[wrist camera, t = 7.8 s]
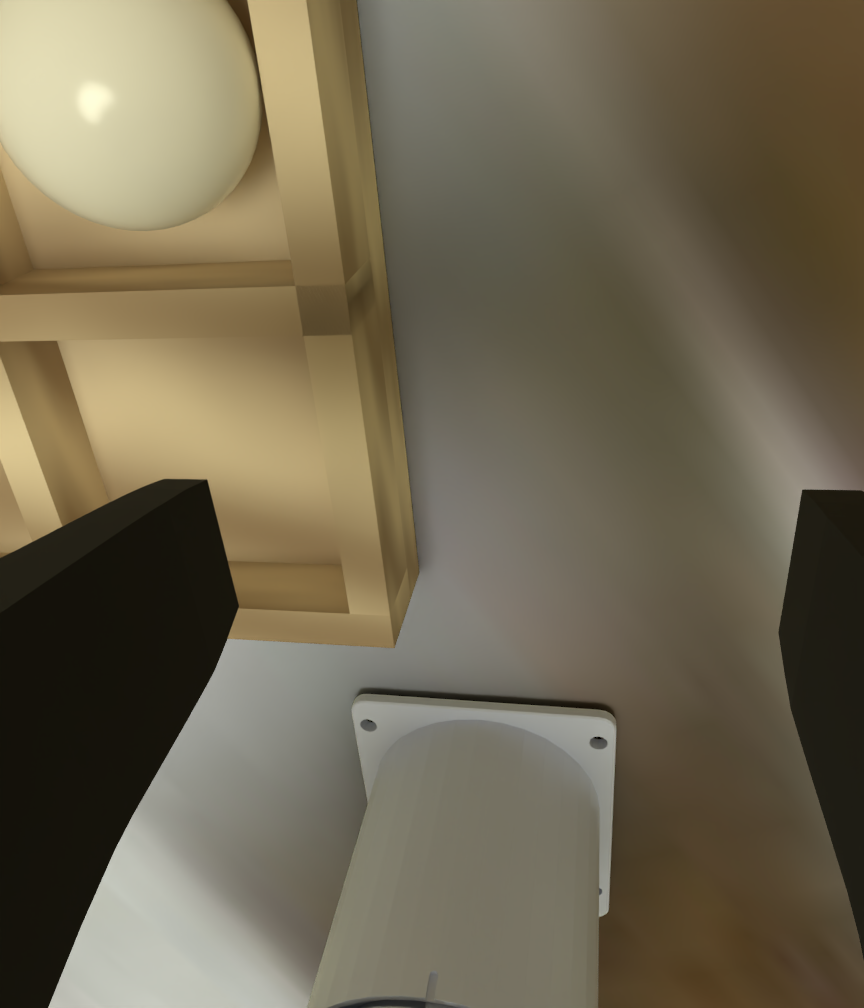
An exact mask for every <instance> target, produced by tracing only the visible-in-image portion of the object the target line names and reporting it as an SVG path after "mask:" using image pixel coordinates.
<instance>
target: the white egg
mask: <svg viewBox="0 0 864 1008" xmlns="http://www.w3.org/2000/svg"><path fill="white" fill-rule="evenodd" d="M262 114H263V94H262V86H261V79H260V73H259V69H258V65H257V60H256V56H255V54H254V51H253V48H252V46H251V43H250V40H249V37H248V35H247V33H246V31H245V29H244V27H243V26H242V24H241V22H240V20H239V18H238V16H237V15H236V13H235V12H234V10H233V9H232V7H231V6H230V4H229V3H228V1H227V0H0V143H1V145H2V147H3V148H4V150H5V151H6V153H7V154H8V156H9V157H10V159H11V160H12V161H13V163H14V164H15V166H16V167H17V168H18V169H19V170H20V171H21V172H22V174H23V175H24V176H25V177H26V178H27V179H28V180H29V181H30V182H31V183H32V184H33V185H34V186H35V187H36V188H37V189H38V190H40V191H41V192H42V193H43V194H44V195H45V196H47V197H48V198H49V199H51V200H52V201H54V202H55V203H56V204H58V205H59V206H61V207H62V208H64V209H66V210H68V211H70V212H71V213H73V214H75V215H77V216H79V217H81V218H84V219H86V220H89V221H91V222H93V223H96V224H100V225H103V226H107V227H111V228H116V229H122V230H128V231H154V230H163V229H168V228H172V227H176V226H180V225H183V224H185V223H188V222H190V221H193V220H195V219H197V218H199V217H200V216H202V215H204V214H206V213H208V212H209V211H211V210H212V209H213V208H214V207H216V206H217V205H218V204H220V203H221V202H222V201H223V200H224V199H225V198H226V197H227V196H228V195H229V194H230V193H231V192H232V191H233V190H234V188H235V187H236V186H237V184H238V183H239V182H240V180H241V179H242V177H243V176H244V174H245V172H246V170H247V168H248V167H249V165H250V163H251V160H252V158H253V155H254V152H255V150H256V147H257V143H258V139H259V135H260V131H261V123H262Z"/></svg>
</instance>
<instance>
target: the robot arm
mask: <svg viewBox="0 0 864 1008" xmlns="http://www.w3.org/2000/svg"><path fill="white" fill-rule="evenodd" d="M238 608H239V604H238V600H237V596H236V592H235V588H234V584H233V580H232V576H231V572H230V568H229V564H228V560H227V556H226V552H225V548H224V544H223V540H222V536H221V532H220V528H219V524H218V520H217V516H216V512H215V508H214V504H213V500H212V496H211V492H210V488H209V484H208V480H207V479H162V480H159V481H157V482H154V483H151V484H148V485H146V486H144V487H141V488H139V489H137V490H134V491H132V492H130V493H128V494H126V495H124V496H122V497H120V498H117V499H115V500H113V501H111V502H109V503H107V504H105V505H103V506H101V507H99V508H97V509H95V510H93V511H92V512H90V513H88V514H86V515H84V516H82V517H80V518H78V519H76V520H74V521H72V522H70V523H68V524H66V525H64V526H62V527H60V528H58V529H56V530H55V531H53V532H51V533H49V534H47V535H45V536H43V537H41V538H39V539H37V540H35V541H33V542H31V543H29V544H27V545H25V546H23V547H21V548H20V549H18V550H16V551H14V552H11V553H9V554H7V555H5V556H3V557H1V558H0V1008H48V1006H49V1004H50V1001H51V999H52V996H53V994H54V991H55V989H56V987H57V984H58V982H59V979H60V977H61V974H62V972H63V969H64V967H65V964H66V962H67V959H68V957H69V954H70V952H71V950H72V947H73V945H74V942H75V940H76V937H77V935H78V932H79V930H80V927H81V925H82V923H83V920H84V918H85V916H86V914H87V911H88V909H89V907H90V905H91V902H92V900H93V898H94V895H95V893H96V891H97V889H98V886H99V884H100V882H101V880H102V877H103V875H104V873H105V871H106V868H107V866H108V864H109V861H110V859H111V857H112V855H113V852H114V850H115V848H116V846H117V844H118V842H119V841H120V839H121V837H122V835H123V833H124V831H125V829H126V827H127V825H128V823H129V821H130V819H131V817H132V815H133V814H134V812H135V810H136V808H137V807H138V805H139V803H140V801H141V800H142V798H143V796H144V794H145V793H146V791H147V789H148V787H149V786H150V784H151V782H152V780H153V779H154V777H155V775H156V774H157V772H158V770H159V768H160V767H161V765H162V763H163V761H164V760H165V758H166V756H167V754H168V753H169V751H170V749H171V747H172V746H173V744H174V742H175V740H176V739H177V737H178V735H179V733H180V732H181V730H182V728H183V726H184V725H185V723H186V721H187V719H188V718H189V716H190V714H191V712H192V710H193V709H194V707H195V705H196V703H197V701H198V700H199V698H200V696H201V694H202V693H203V691H204V689H205V687H206V685H207V683H208V682H209V680H210V678H211V676H212V674H213V672H214V670H215V668H216V665H217V663H218V661H219V658H220V656H221V653H222V651H223V648H224V646H225V643H226V641H227V638H228V635H229V633H230V630H231V627H232V624H233V622H234V619H235V616H236V613H237V611H238ZM779 638H780V645H781V652H782V658H783V665H784V672H785V678H786V683H787V689H788V695H789V701H790V706H791V711H792V714H793V717H794V721H795V724H796V728H797V731H798V734H799V737H800V741H801V744H802V747H803V751H804V754H805V757H806V760H807V764H808V767H809V770H810V773H811V777H812V780H813V783H814V786H815V789H816V793H817V796H818V799H819V802H820V805H821V809H822V812H823V815H824V818H825V821H826V825H827V828H828V831H829V834H830V837H831V841H832V844H833V847H834V850H835V853H836V857H837V860H838V863H839V866H840V869H841V873H842V876H843V879H844V882H845V885H846V889H847V892H848V896H849V900H850V903H851V907H852V911H853V915H854V918H855V922H856V926H857V930H858V934H859V938H860V943H861V948H862V953H863V958H864V492H863V491H856V490H802V495H801V501H800V507H799V513H798V519H797V525H796V531H795V537H794V543H793V549H792V555H791V561H790V567H789V573H788V579H787V585H786V591H785V597H784V603H783V609H782V615H781V621H780V627H779ZM351 713H352V718H353V724H354V729H355V735H356V740H357V746H358V752H359V757H360V763H361V768H362V774H363V779H364V785H365V791H366V796H367V802H368V805H367V808H366V812H365V815H364V818H363V822H362V825H361V828H360V832H359V835H358V838H357V842H356V845H355V849H354V852H353V855H352V859H351V862H350V865H349V869H348V872H347V875H346V879H345V882H344V886H343V889H342V892H341V896H340V899H339V902H338V906H337V909H336V912H335V916H334V919H333V923H332V926H331V929H330V933H329V936H328V939H327V943H326V946H325V949H324V953H323V956H322V960H321V963H320V966H319V970H318V973H317V976H316V980H315V983H314V986H313V990H312V993H311V997H310V1000H309V1003H308V1007H307V1008H598V949H599V917H601V916H604V915H605V914H606V913H608V910H609V891H610V868H611V844H612V821H613V798H614V775H615V752H616V720H615V718H614V717H613V715H612V714H610V713H608V712H607V711H603V710H597V709H582V708H568V707H553V706H538V705H524V704H509V703H495V702H480V701H465V700H451V699H436V698H422V697H407V696H392V695H378V694H361V695H359V696H357V697H356V698H355V700H354V702H353V705H352V709H351ZM366 719H368V720H372V721H373V722H369V721H367V720H366ZM593 737H602V738H604V739H595V738H593Z"/></svg>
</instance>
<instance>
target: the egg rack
mask: <svg viewBox="0 0 864 1008" xmlns="http://www.w3.org/2000/svg"><path fill="white" fill-rule="evenodd" d="M227 1H228V3H229V4H230V6H231V7H232V9H233V10H234V12H235V13H236V15H237V16H238V18H239V20H240V22H241V24H242V26H243V27H244V29H245V31H246V33H247V35H248V37H249V40H250V43H251V46H252V48H253V51H254V54H255V56H256V60H257V65H258V69H259V73H260V79H261V86H262V94H263V114H262V123H261V131H260V135H259V139H258V143H257V147H256V150H255V152H254V155H253V158H252V160H251V163H250V165H249V167H248V168H247V170H246V172H245V174H244V176H243V177H242V179H241V180H240V182H239V183H238V184H237V186H236V187H235V188H234V190H233V191H232V192H231V193H230V194H229V195H228V196H227V197H226V198H225V199H224V200H223V201H222V202H221V203H220V204H218V205H217V206H216V207H214V208H213V209H212V210H211V211H209V212H208V213H206V214H204V215H202V216H200V217H199V218H197V219H195V220H193V221H190V222H188V223H185V224H183V225H180V226H176V227H172V228H168V229H163V230H154V231H128V230H122V229H116V228H111V227H107V226H103V225H100V224H96V223H93V222H91V221H89V220H86V219H84V218H81V217H79V216H77V215H75V214H73V213H71V212H70V211H68V210H66V209H64V208H62V207H61V206H59V205H58V204H56V203H55V202H54V201H52V200H51V199H49V198H48V197H47V196H45V195H44V194H43V193H42V192H41V191H40V190H38V189H37V188H36V187H35V186H34V185H33V184H32V183H31V182H30V181H29V180H28V179H27V178H26V177H25V176H24V175H23V174H22V172H21V171H20V170H19V169H18V168H17V167H16V166H15V164H14V163H13V161H12V160H11V159H10V157H9V156H8V154H7V153H6V151H5V150H4V148H3V147H2V145H1V143H0V558H1V557H3V556H5V555H7V554H9V553H11V552H14V551H16V550H18V549H20V548H21V547H23V546H25V545H27V544H29V543H31V542H33V541H35V540H37V539H39V538H41V537H43V536H45V535H47V534H49V533H51V532H53V531H55V530H56V529H58V528H60V527H62V526H64V525H66V524H68V523H70V522H72V521H74V520H76V519H78V518H80V517H82V516H84V515H86V514H88V513H90V512H92V511H93V510H95V509H97V508H99V507H101V506H103V505H105V504H107V503H109V502H111V501H113V500H115V499H117V498H120V497H122V496H124V495H126V494H128V493H130V492H132V491H134V490H137V489H139V488H141V487H144V486H146V485H148V484H151V483H154V482H157V481H159V480H162V479H207V480H208V484H209V488H210V492H211V496H212V500H213V504H214V508H215V512H216V516H217V520H218V524H219V528H220V532H221V536H222V540H223V544H224V548H225V552H226V556H227V560H228V564H229V568H230V572H231V576H232V580H233V584H234V588H235V592H236V596H237V600H238V604H239V608H238V611H237V613H236V616H235V619H234V622H233V624H232V627H231V630H230V633H229V635H228V638H227V639H245V640H263V641H280V642H298V643H315V644H333V645H350V646H368V647H385V648H395V645H396V642H397V639H398V636H399V633H400V630H401V626H402V623H403V620H404V617H405V614H406V611H407V608H408V605H409V602H410V599H411V596H412V593H413V590H414V587H415V584H416V581H417V578H418V575H419V565H418V556H417V547H416V538H415V529H414V519H413V510H412V501H411V492H410V483H409V474H408V465H407V456H406V447H405V437H404V428H403V419H402V410H401V401H400V392H399V383H398V374H397V365H396V356H395V346H394V337H393V328H392V319H391V310H390V301H389V292H388V283H387V274H386V264H385V255H384V246H383V237H382V228H381V219H380V210H379V201H378V192H377V183H376V173H375V164H374V155H373V146H372V137H371V128H370V119H369V110H368V101H367V92H366V82H365V73H364V64H363V55H362V46H361V37H360V28H359V19H358V10H357V0H227Z"/></svg>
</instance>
